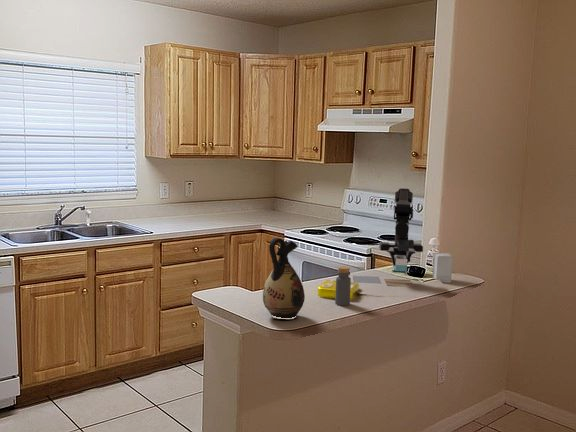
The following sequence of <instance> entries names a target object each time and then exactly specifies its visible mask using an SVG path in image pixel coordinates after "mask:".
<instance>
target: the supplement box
mask: <svg viewBox="0 0 576 432" xmlns="http://www.w3.org/2000/svg"><path fill="white" fill-rule="evenodd" d="M453 258H454V257H453V255H451V254H450V253H449V252H448V253H446V252H445V253H443V252H440V253H439V252H435V253H433V260H432V261H433V263H432V277H433V278H434V279H435V280H439V281H440V282H441V283H447V284H448V283H451V282H452V274H453Z"/></svg>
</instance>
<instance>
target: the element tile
mask: <svg viewBox="0 0 576 432" xmlns="http://www.w3.org/2000/svg"><path fill="white" fill-rule="evenodd" d="M359 287H360V285H359V283H356V282H355V283H354V282H353V281H351V287H350V301H353V300H354V299H355V298H356V297H357V296H358V294H359V293H358V291H359ZM335 295H336V280H332V279H326V280H325V281H324V282H322V283H321V284H320V285H318V287H317V297H318V296H320V297H319V298H323V297H326V298H325V299H331V298H334V299H333V300H335ZM355 296H356V297H355Z"/></svg>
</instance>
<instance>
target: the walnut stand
mask: <svg viewBox="0 0 576 432" xmlns="http://www.w3.org/2000/svg"><path fill="white" fill-rule="evenodd" d="M383 280H384V282H385V285H386V286H387V287H406V288H408V287H409V288H410V287H411V288H415V285H414V284H413V282H412V280H410V279H397V278H396V279H394V278H393V279H391V278H384V279H383Z"/></svg>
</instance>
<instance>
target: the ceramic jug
mask: <svg viewBox="0 0 576 432" xmlns="http://www.w3.org/2000/svg"><path fill="white" fill-rule="evenodd" d="M278 244H279V247H278V249H277V252H276V245H278ZM297 248H298V245H297V244H296V242H294V241H293V240H289V241H288V240H284V239H283V238H281V237H274V238H272V239H271V240H270V242H269V246H268V249H269V254H270V258H271V263H272V264H273V267H272V268H273V269H272V270H271V272H270V274H269V275H268V277H267V279H266V281H265V283H264V286H263V291H262V302H263V305H264V308H265V309H267V311H268V312H269V314H270V315H273V316H276V317H281V318H292V317H295V316H296V317H297V315H298V314H299V312H300V311H301V310H302V307H304V306H303V305H304V303H305V296H306V295H305V290H304V286H303V283H302V280H301V278H300V276H299V275H298V274H297V272H296V270H295V269H294V267H293V266H292V264H291V263H290V262H289V257H288V255H289V254H290V253H291V252H293V251H294V250H295V249H297ZM277 256H278V257H277Z"/></svg>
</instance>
